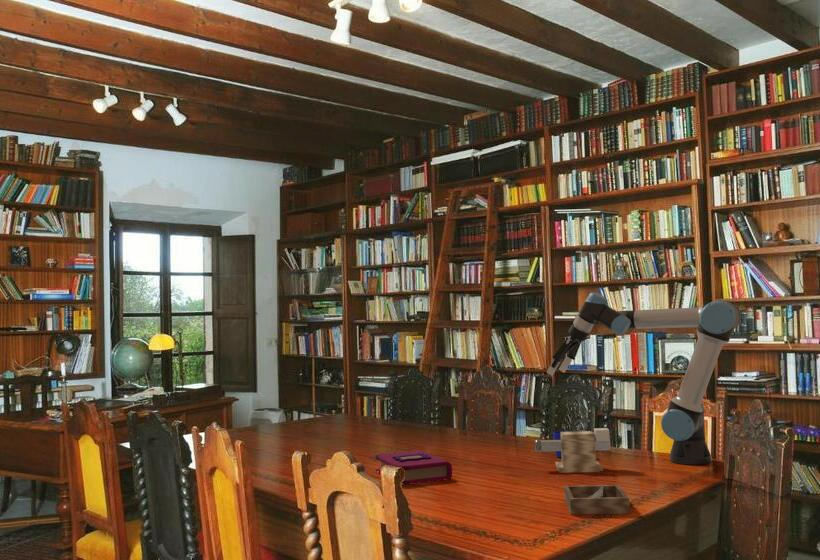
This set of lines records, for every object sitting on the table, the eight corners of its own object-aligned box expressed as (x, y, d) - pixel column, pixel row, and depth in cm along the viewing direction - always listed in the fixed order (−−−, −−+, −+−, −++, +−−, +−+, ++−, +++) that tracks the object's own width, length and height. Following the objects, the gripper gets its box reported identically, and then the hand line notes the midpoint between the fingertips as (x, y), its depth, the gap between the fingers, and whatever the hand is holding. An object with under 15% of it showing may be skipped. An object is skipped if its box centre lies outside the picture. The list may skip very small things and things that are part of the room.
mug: (584, 458, 302) (583, 433, 302) (554, 458, 304) (552, 433, 304) (583, 454, 310) (582, 430, 310) (554, 454, 312) (553, 430, 312)
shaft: (609, 449, 284) (608, 437, 284) (611, 451, 280) (610, 439, 280) (535, 450, 287) (534, 439, 287) (535, 452, 282) (535, 441, 283)
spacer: (607, 438, 285) (607, 428, 285) (609, 440, 280) (609, 430, 280) (594, 438, 285) (593, 428, 285) (596, 441, 280) (595, 430, 281)
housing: (597, 464, 289) (595, 429, 290) (603, 471, 275) (601, 435, 276) (555, 465, 291) (554, 430, 291) (559, 472, 277) (557, 436, 277)
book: (424, 467, 299) (423, 448, 299) (452, 480, 272) (451, 459, 273) (375, 472, 291) (374, 453, 292) (398, 487, 265) (397, 465, 266)
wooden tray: (619, 499, 234) (618, 485, 234) (629, 513, 217) (629, 498, 217) (564, 500, 236) (564, 485, 236) (570, 514, 219) (570, 499, 219)
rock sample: (575, 489, 234) (594, 473, 230) (594, 503, 234) (613, 488, 230) (573, 511, 224) (593, 495, 220) (593, 526, 225) (613, 510, 221)
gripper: (583, 322, 312) (559, 365, 317) (562, 324, 291) (536, 369, 296) (598, 332, 308) (573, 374, 314) (578, 334, 287) (551, 380, 293)
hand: (555, 372), depth 305 cm, fingers open, 13 cm apart
